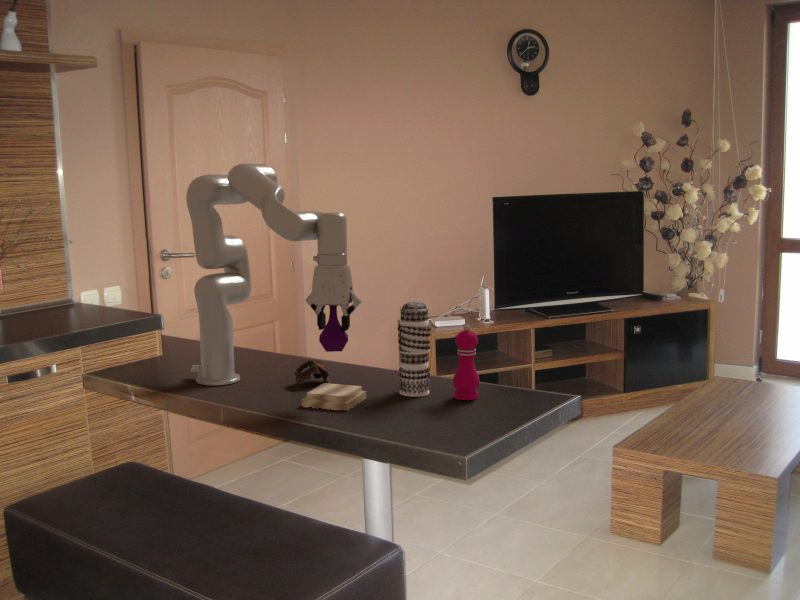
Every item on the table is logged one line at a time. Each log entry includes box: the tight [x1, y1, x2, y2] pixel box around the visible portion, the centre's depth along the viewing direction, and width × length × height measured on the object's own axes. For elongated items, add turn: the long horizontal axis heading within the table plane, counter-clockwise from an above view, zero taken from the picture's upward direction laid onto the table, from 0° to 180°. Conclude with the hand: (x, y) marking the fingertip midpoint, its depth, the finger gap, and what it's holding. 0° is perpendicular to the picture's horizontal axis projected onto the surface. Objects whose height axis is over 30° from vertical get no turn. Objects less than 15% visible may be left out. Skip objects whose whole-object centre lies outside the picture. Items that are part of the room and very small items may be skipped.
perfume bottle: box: [318, 305, 349, 353], centre depth 202 cm, size 8×8×18 cm
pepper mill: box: [452, 324, 481, 402], centre depth 208 cm, size 7×7×20 cm
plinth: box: [301, 382, 367, 412], centre depth 205 cm, size 13×13×4 cm
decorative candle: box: [397, 301, 432, 398], centre depth 213 cm, size 9×9×25 cm
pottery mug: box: [294, 359, 332, 385], centre depth 225 cm, size 12×9×8 cm
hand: (333, 329), depth 203 cm, fingers closed on perfume bottle, 5 cm apart
